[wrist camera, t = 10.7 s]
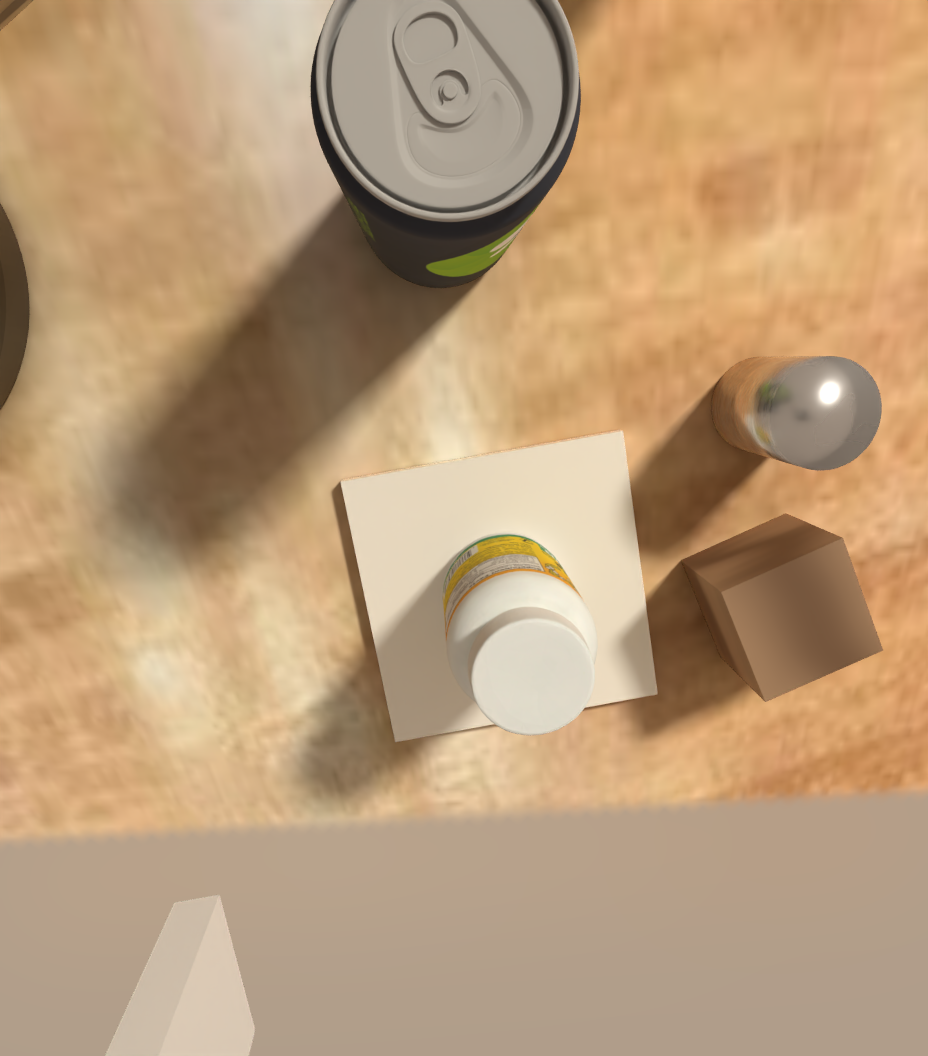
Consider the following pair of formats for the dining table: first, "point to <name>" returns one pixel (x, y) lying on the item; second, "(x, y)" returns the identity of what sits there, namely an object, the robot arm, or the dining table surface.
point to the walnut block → (783, 604)
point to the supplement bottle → (518, 634)
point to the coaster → (482, 509)
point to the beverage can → (445, 124)
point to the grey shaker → (798, 409)
